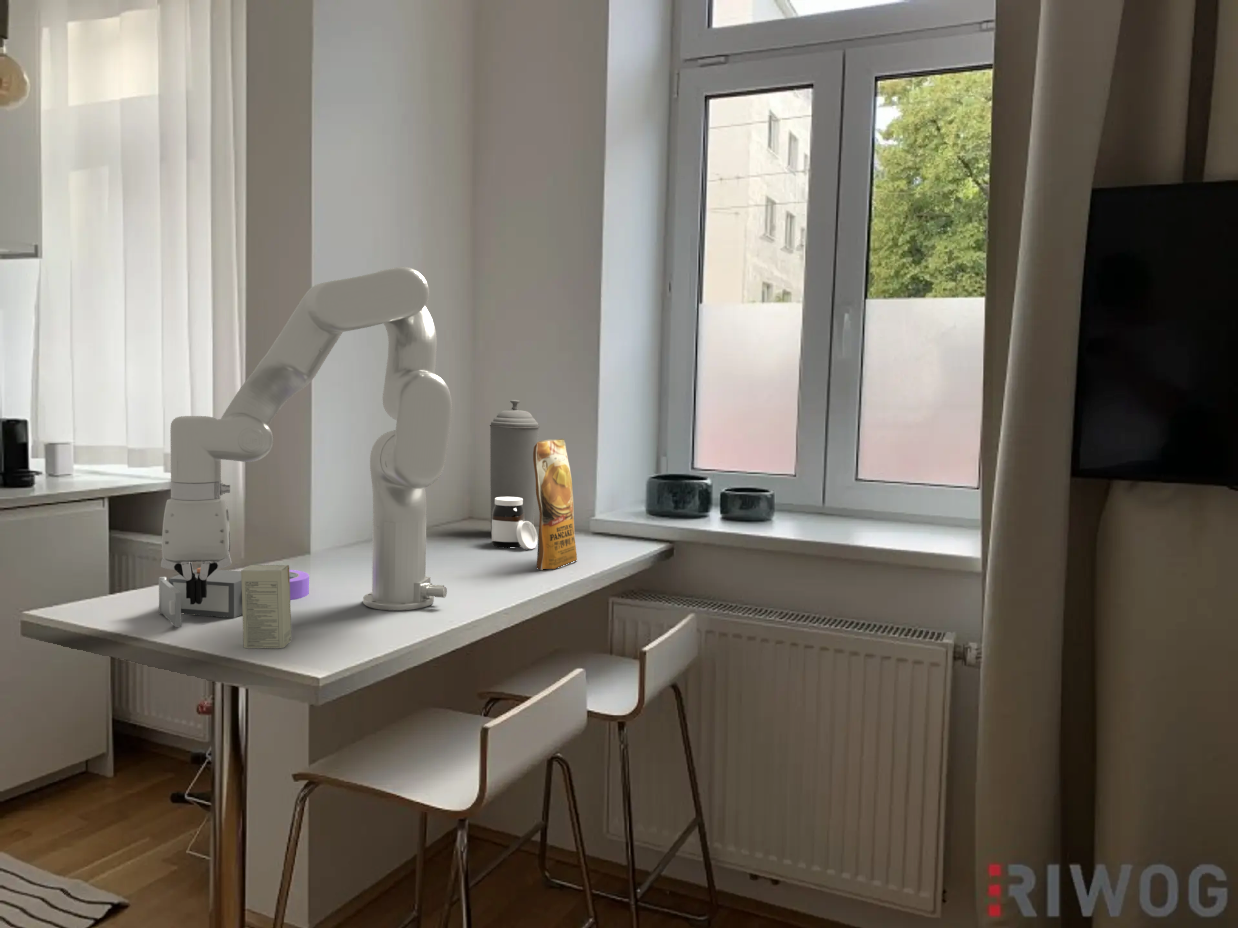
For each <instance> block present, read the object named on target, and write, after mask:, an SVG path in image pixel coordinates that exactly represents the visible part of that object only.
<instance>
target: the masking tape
mask: <svg viewBox="0 0 1238 928" xmlns="http://www.w3.org/2000/svg"><path fill="white" fill-rule="evenodd" d="M289 574H290V601H293V600H299V599H302V598H305V597H307V596H308V595H310V574H309V573H308V572H305V571H303V570H297V569H296V570H295V569H289Z"/></svg>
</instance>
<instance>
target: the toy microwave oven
mask: <svg viewBox="0 0 1238 928" xmlns="http://www.w3.org/2000/svg"><path fill="white" fill-rule="evenodd" d="M200 569H201V567H197V568H196V569H193V573H194V574H195V577H196V578H198V575H199V574H200ZM168 582H169V583H170V584H171V585H173V586H174V587H175V588H176V589H177V590H178V591H179V592H180V593H181V613H184V614H183V615H188V614H195V615H194V616H200V617H202V616H203V617H213V616H216V617H215V618H229V619H236V618H238V617H240V616H243V614H242V582H241V570H230V569H228V570H227V569H216V570H215V571H214V572H213V573H212V574H211V575H210V576H208V577H207V597H206V598H203V601H202V603H201V604H197V603H195V604H190V598H186V580H185V579H184V577H183V576H181V575H180V574H177V575H174V576H170V577H169V578H168Z"/></svg>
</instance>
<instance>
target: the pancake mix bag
mask: <svg viewBox="0 0 1238 928" xmlns="http://www.w3.org/2000/svg"><path fill="white" fill-rule="evenodd" d="M568 455H569V454H568V451H567V443H566V442H565V438H557V439H544V440H538V442H537V443H536V445H535V446H534V451H533V462H534V470H535V478H536V490H535V497H536V500H537V505H538V511H539V519H538V522H539V523H538V533H537V537H538V540H537V552H536V553H537V554H536V569H537V568H538V569H540V571H544V570H543V569H553V570H556V568H558V567H560V568H562V567H561V566H563V565H566V564H568V563H571V562H573V561H576V560H577V561H578V556H577V547H576V546H577V545H576V538H575V537H576V536H575V519H574V517H575V512H574V511H575V510H574V509H575V508H574V507H575V506H574V493H573V480H572V479H573V478H572V472H571V466H570V461H569V456H568ZM577 561H576V562H577ZM568 565H569V564H568ZM566 566H567V565H566ZM538 569H537V570H538ZM558 569H559V568H558Z"/></svg>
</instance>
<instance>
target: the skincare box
mask: <svg viewBox="0 0 1238 928" xmlns="http://www.w3.org/2000/svg"><path fill="white" fill-rule="evenodd" d="M289 570H290V565H289V564H250V565H248V566H246V567H244V568H242V569H240V571H241V582H242V636H243V637H242V638H243V639H242V641H243V642H242V643H243V649H284V648H285V647H286V646H287V645H289V643H291V642H292V617H291V616H292V614H291V600H290V574H289Z"/></svg>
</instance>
